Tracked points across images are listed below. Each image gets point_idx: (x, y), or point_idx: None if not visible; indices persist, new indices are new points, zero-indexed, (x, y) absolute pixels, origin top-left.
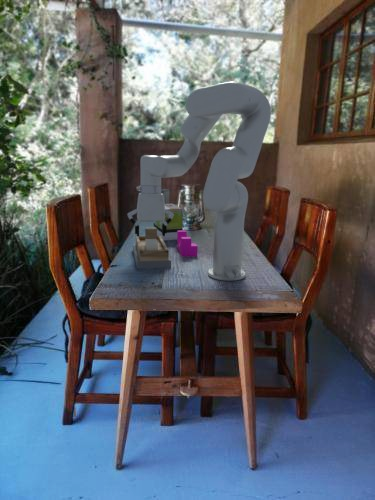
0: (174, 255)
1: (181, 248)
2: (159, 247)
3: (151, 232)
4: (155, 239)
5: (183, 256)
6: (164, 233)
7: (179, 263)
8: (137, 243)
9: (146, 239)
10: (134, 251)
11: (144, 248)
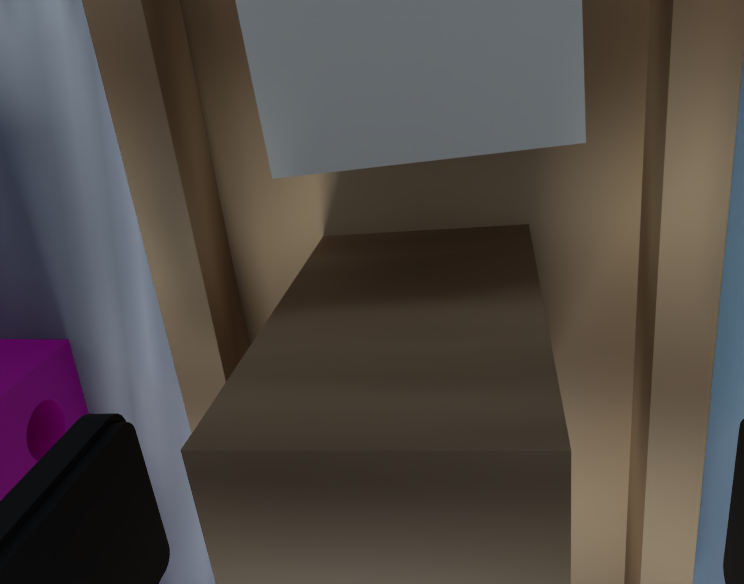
0: (154, 397)
1: (7, 408)
2: (279, 262)
3: (386, 391)
4: (290, 94)
5: (43, 342)
6: (61, 444)
7: (51, 40)
8: (698, 412)
9: (557, 95)
10: None
11: (566, 196)
